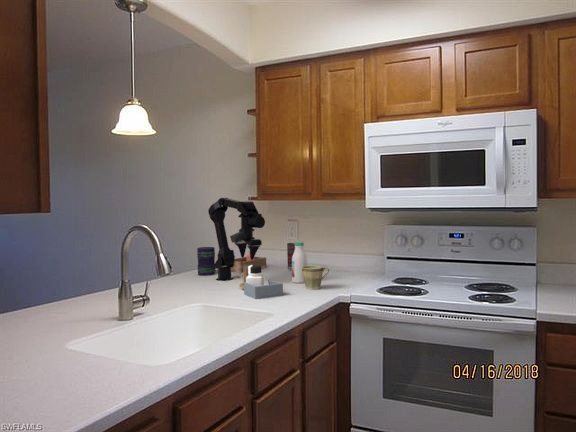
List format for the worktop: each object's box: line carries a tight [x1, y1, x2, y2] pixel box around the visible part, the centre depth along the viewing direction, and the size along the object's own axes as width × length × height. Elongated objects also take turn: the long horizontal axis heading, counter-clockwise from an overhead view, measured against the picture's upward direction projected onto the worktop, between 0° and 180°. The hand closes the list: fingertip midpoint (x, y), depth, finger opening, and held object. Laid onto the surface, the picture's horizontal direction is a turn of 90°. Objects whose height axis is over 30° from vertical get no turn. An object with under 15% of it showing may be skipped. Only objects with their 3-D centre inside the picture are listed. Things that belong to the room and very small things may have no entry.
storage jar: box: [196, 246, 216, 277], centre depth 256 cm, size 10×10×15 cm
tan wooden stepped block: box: [239, 267, 248, 290], centre depth 214 cm, size 5×8×9 cm, turn 120°
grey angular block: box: [243, 279, 284, 300], centre depth 201 cm, size 11×13×5 cm
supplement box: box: [286, 242, 295, 271], centre depth 265 cm, size 9×5×16 cm, turn 46°
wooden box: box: [230, 256, 267, 274], centre depth 272 cm, size 14×23×6 cm, turn 145°
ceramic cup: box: [302, 265, 330, 291], centre depth 213 cm, size 13×10×10 cm
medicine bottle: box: [246, 265, 265, 286], centre depth 208 cm, size 7×7×12 cm
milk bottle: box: [291, 241, 308, 284], centre depth 229 cm, size 8×8×20 cm
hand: (247, 258), depth 225 cm, fingers open, 9 cm apart
